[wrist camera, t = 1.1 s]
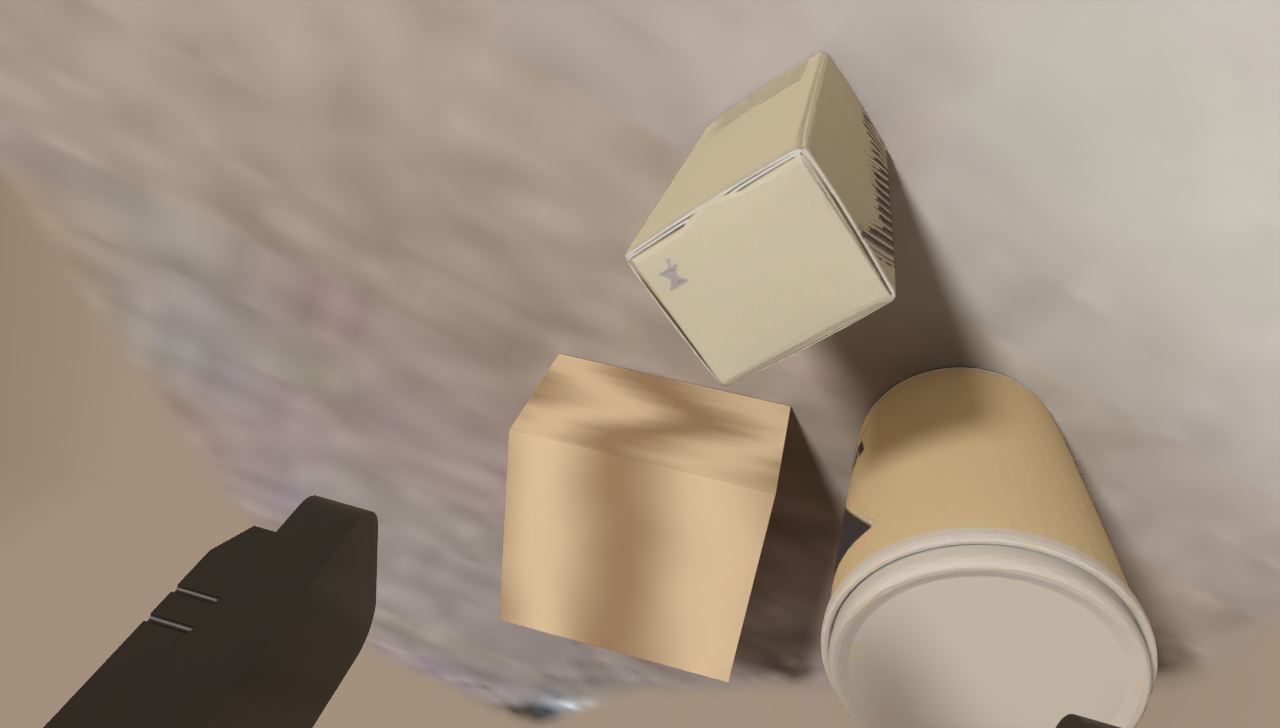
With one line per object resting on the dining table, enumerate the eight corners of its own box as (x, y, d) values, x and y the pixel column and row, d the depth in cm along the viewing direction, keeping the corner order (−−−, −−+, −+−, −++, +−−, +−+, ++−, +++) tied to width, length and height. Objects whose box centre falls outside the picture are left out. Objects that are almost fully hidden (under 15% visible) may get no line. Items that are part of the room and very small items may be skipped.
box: (768, 223, 33) (712, 401, 22) (702, 124, 32) (608, 262, 21) (898, 147, 31) (905, 305, 20) (831, 37, 30) (801, 141, 19)
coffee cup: (805, 382, 36) (773, 588, 26) (1050, 316, 33) (1125, 525, 22) (878, 557, 40) (875, 799, 29) (1107, 515, 36) (1195, 775, 26)
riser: (790, 406, 37) (775, 494, 32) (747, 582, 42) (728, 682, 37) (559, 353, 38) (509, 430, 33) (544, 530, 43) (499, 619, 38)
